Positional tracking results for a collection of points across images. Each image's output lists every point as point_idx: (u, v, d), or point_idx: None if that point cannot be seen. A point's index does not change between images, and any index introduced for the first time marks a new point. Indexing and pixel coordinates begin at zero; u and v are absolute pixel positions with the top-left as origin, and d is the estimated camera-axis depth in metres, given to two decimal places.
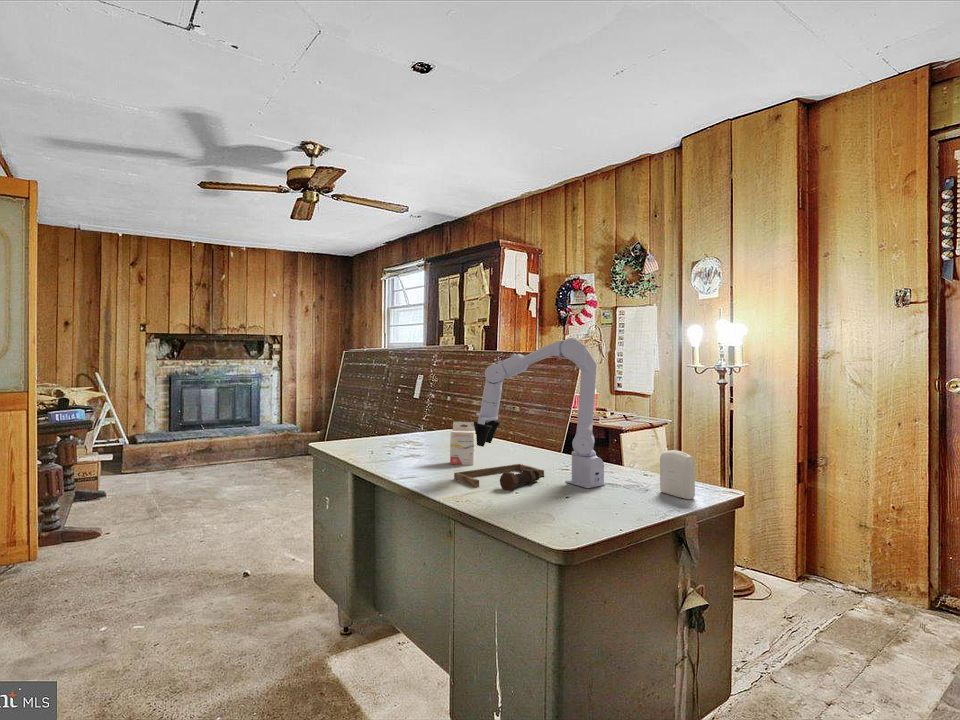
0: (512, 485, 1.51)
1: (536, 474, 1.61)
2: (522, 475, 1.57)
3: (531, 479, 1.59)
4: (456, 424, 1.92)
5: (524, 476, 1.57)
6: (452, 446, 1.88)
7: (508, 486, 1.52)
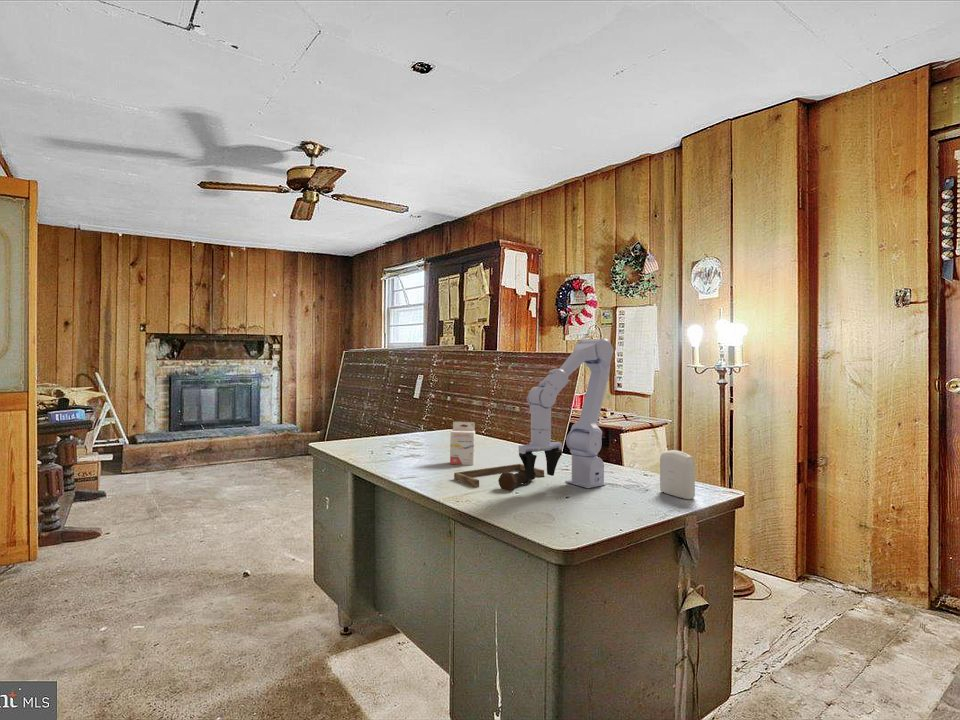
0: (512, 485, 1.51)
1: None
2: (520, 475, 1.57)
3: (528, 478, 1.59)
4: (456, 424, 1.92)
5: (522, 476, 1.57)
6: (452, 446, 1.88)
7: (507, 486, 1.52)
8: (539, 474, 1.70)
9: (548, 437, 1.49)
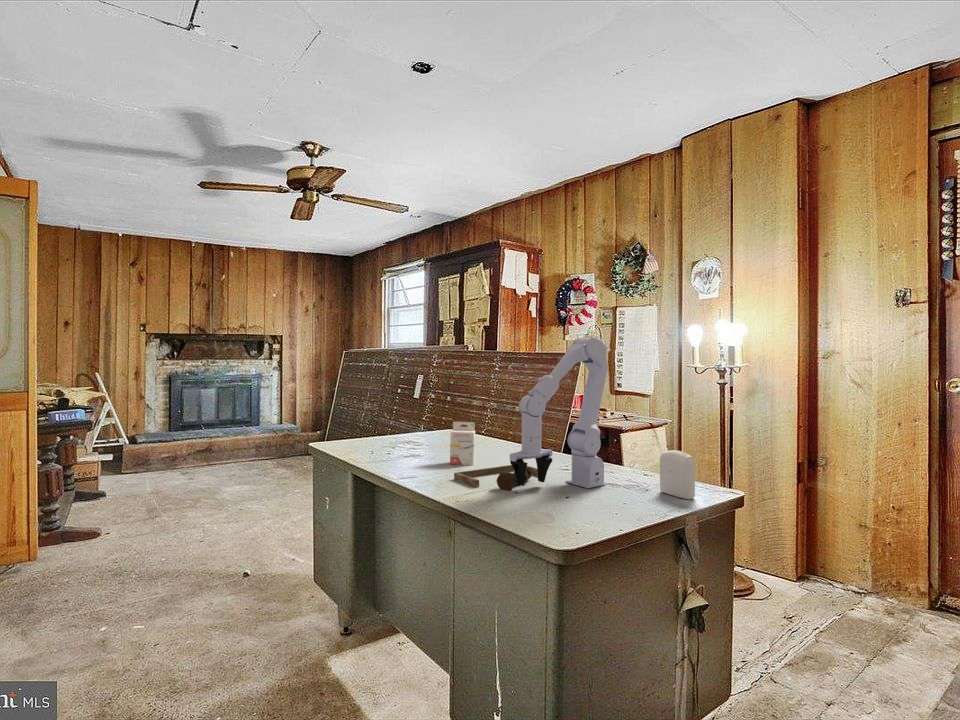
0: (511, 485, 1.51)
1: (528, 473, 1.63)
2: None
3: (525, 478, 1.60)
4: (456, 424, 1.92)
5: None
6: (452, 446, 1.88)
7: (506, 486, 1.52)
8: None
9: (538, 445, 1.53)
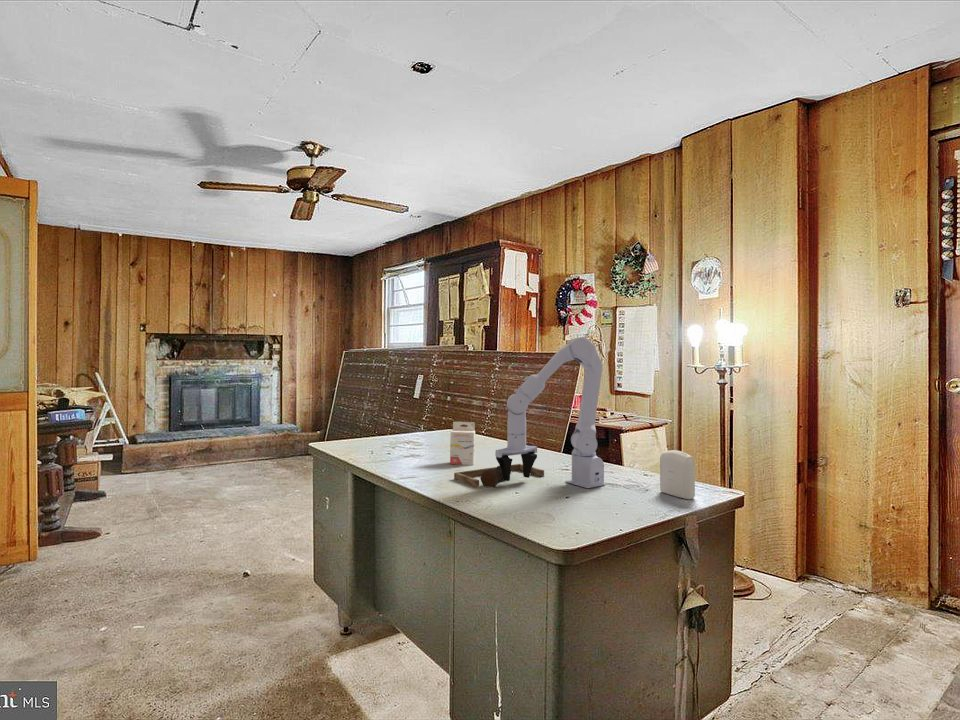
0: (495, 482, 1.55)
1: None
2: (499, 471, 1.62)
3: None
4: (456, 424, 1.92)
5: (501, 472, 1.62)
6: (452, 446, 1.88)
7: (490, 482, 1.56)
8: (539, 474, 1.70)
9: (523, 441, 1.58)
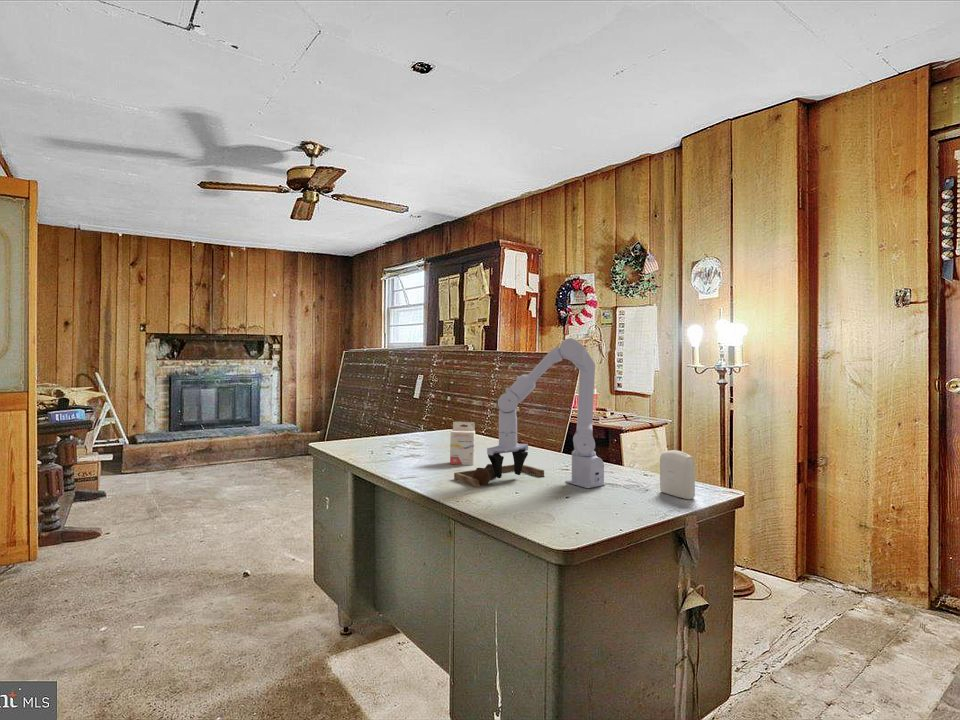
0: (487, 480, 1.57)
1: None
2: (490, 469, 1.63)
3: None
4: (456, 424, 1.92)
5: (491, 470, 1.64)
6: (452, 446, 1.88)
7: (483, 481, 1.58)
8: (539, 474, 1.70)
9: (514, 439, 1.62)
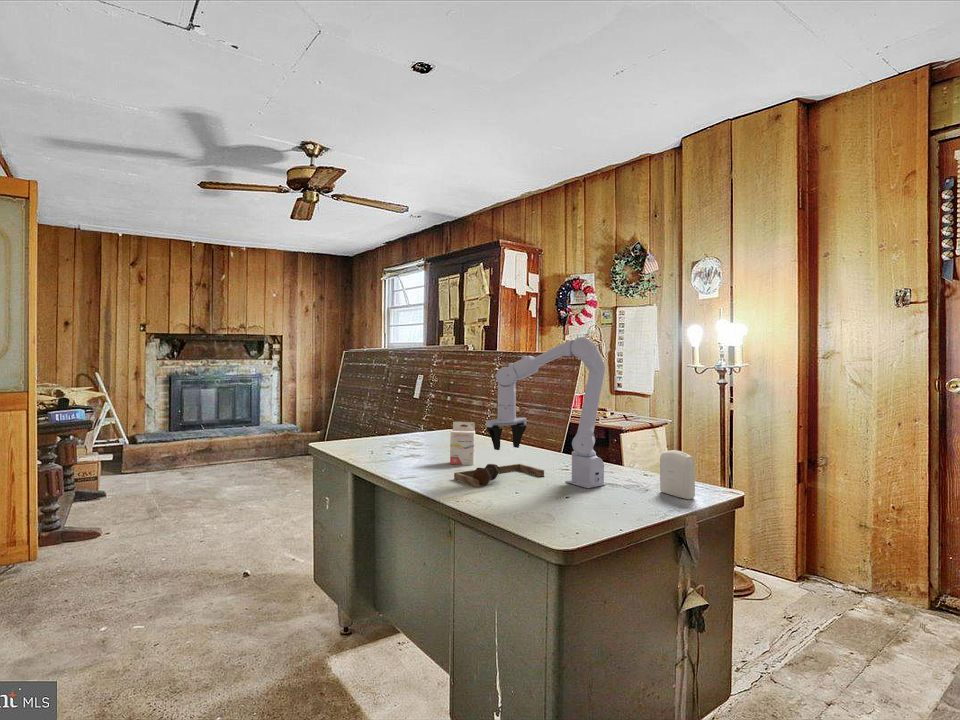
0: (487, 479, 1.57)
1: (497, 468, 1.70)
2: (490, 469, 1.63)
3: (496, 473, 1.66)
4: (456, 424, 1.92)
5: (491, 470, 1.64)
6: (452, 446, 1.88)
7: (482, 481, 1.58)
8: (539, 474, 1.70)
9: (513, 412, 1.65)
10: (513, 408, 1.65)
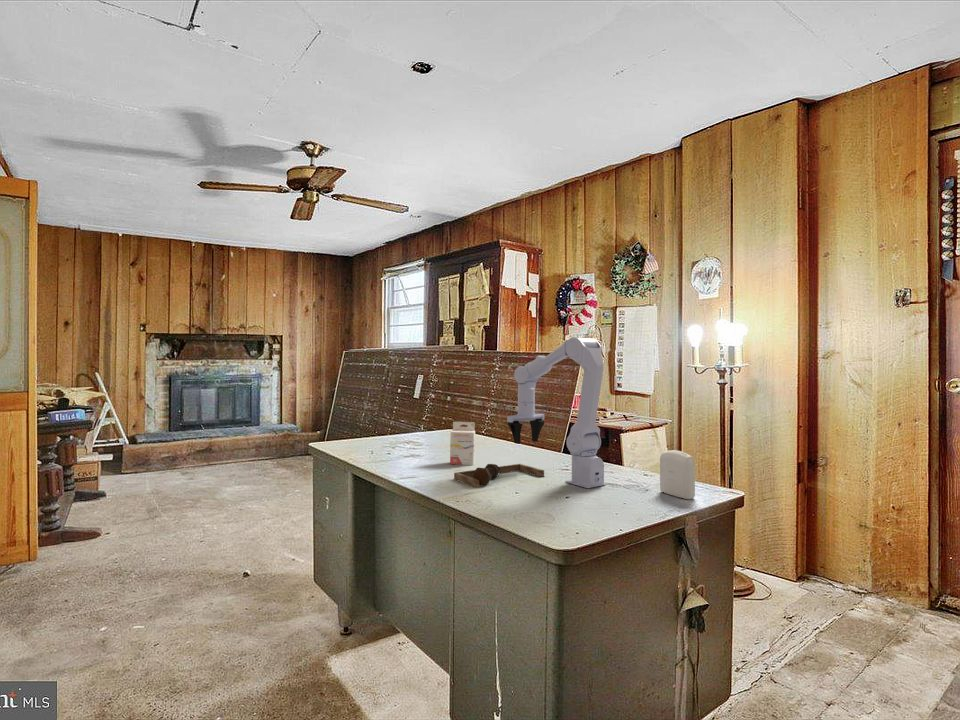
0: (487, 479, 1.57)
1: (497, 468, 1.70)
2: (490, 469, 1.63)
3: (496, 473, 1.66)
4: (456, 424, 1.92)
5: (491, 470, 1.64)
6: (452, 447, 1.88)
7: (482, 481, 1.58)
8: (539, 474, 1.70)
9: (532, 409, 1.77)
10: (532, 405, 1.77)
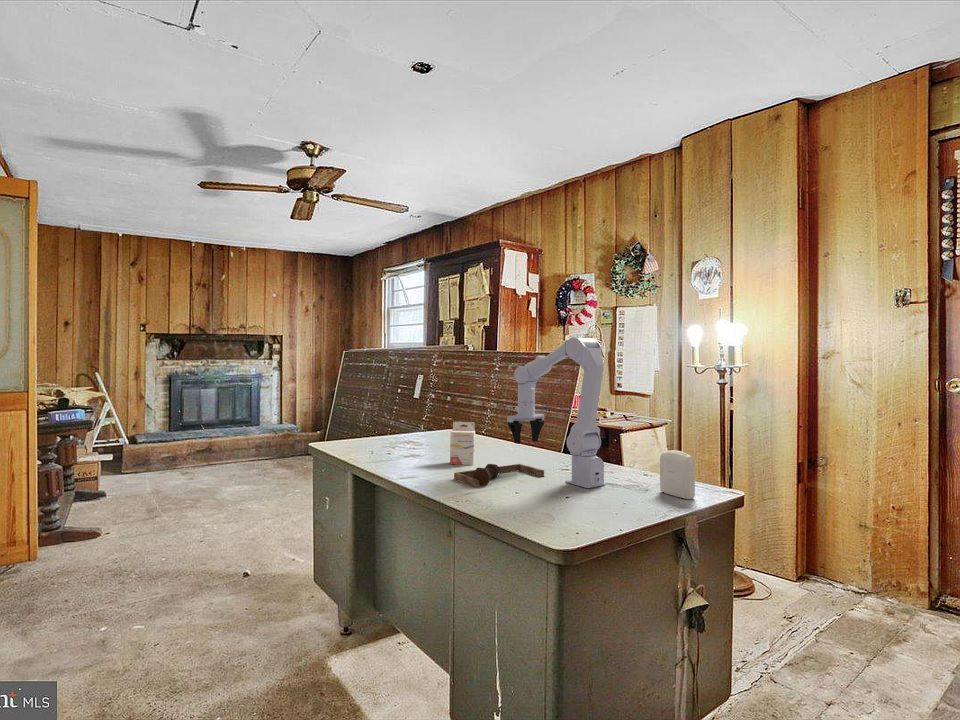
0: (487, 479, 1.57)
1: (497, 468, 1.70)
2: (490, 469, 1.63)
3: (496, 473, 1.66)
4: (456, 424, 1.92)
5: (491, 470, 1.64)
6: (452, 446, 1.88)
7: (482, 481, 1.58)
8: (539, 474, 1.70)
9: (532, 409, 1.77)
10: (532, 405, 1.77)
